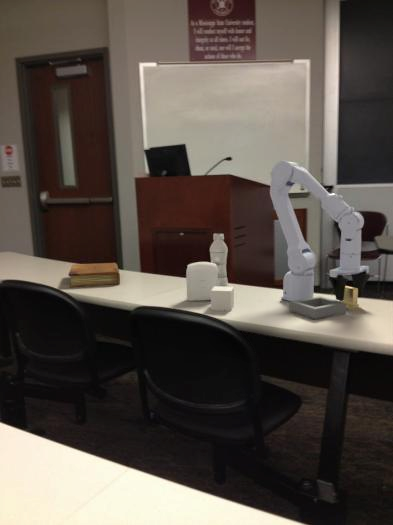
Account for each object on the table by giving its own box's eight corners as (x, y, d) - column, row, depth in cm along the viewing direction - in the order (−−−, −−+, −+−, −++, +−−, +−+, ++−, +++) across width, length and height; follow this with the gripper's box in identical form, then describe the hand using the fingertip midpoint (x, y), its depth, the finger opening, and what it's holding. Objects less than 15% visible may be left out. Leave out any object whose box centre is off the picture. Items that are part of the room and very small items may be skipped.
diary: (120, 286, 168) (119, 271, 167) (69, 289, 164) (68, 274, 163) (117, 275, 190) (117, 262, 189) (72, 277, 186) (72, 264, 186)
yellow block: (350, 309, 129) (351, 289, 128) (337, 305, 134) (338, 286, 133) (358, 307, 131) (359, 288, 130) (345, 304, 135) (346, 285, 134)
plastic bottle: (206, 291, 155) (205, 234, 152) (214, 287, 161) (214, 233, 158) (223, 293, 152) (222, 235, 149) (230, 289, 158) (230, 233, 155)
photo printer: (187, 301, 141) (186, 263, 139) (186, 298, 145) (185, 261, 143) (219, 300, 142) (219, 262, 140) (217, 297, 146) (217, 260, 144)
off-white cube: (211, 310, 131) (210, 290, 130) (214, 305, 136) (214, 286, 135) (231, 311, 129) (231, 291, 128) (233, 306, 135) (233, 286, 134)
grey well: (289, 311, 128) (289, 301, 127) (319, 305, 134) (320, 296, 133) (314, 319, 119) (315, 309, 119) (345, 313, 125) (346, 303, 124)
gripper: (343, 256, 123) (341, 304, 125) (378, 252, 130) (376, 297, 132) (324, 254, 129) (323, 299, 131) (358, 250, 136) (357, 293, 138)
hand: (348, 298), depth 132 cm, fingers open, 7 cm apart
